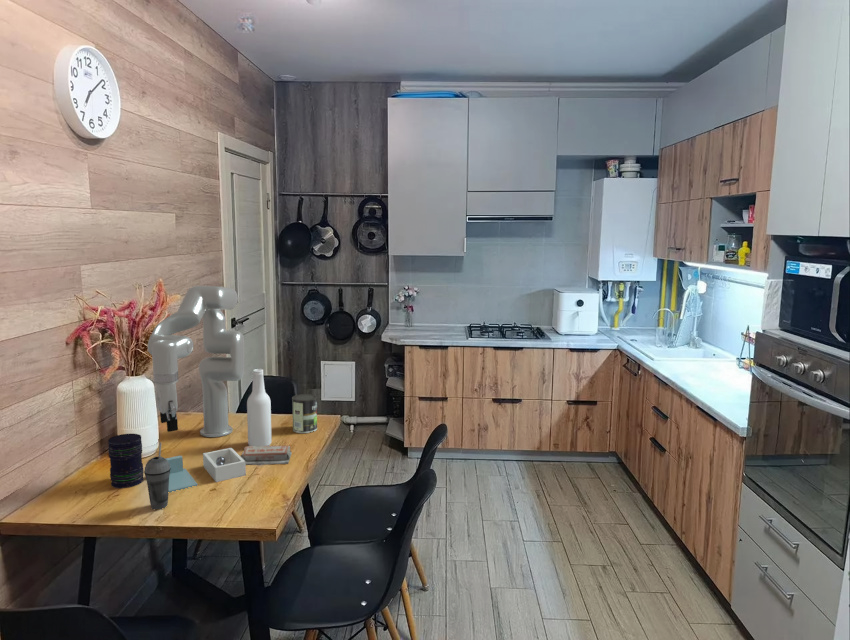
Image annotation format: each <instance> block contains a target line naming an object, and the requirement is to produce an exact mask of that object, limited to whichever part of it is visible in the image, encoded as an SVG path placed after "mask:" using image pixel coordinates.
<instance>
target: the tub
mask: <svg viewBox="0 0 850 640" xmlns="http://www.w3.org/2000/svg"><path fill="white" fill-rule="evenodd" d="M218 457H224V458H225V463H224V465H221V466H217V465H216V460H217V458H218ZM202 458H203V459H202V460H203V461H202V464H203V468H204V469H205V470H207V471H206V472H207V473H208V474H209V475H210V477H211V478H212V480H214V482H215V483H218V482H222V481H223V482H224V481H227V480H232V479H235V478H241V477H244V476H247V473H246V472H247V471H246V470H247V468H246V466H247V465H246V464H245V460H243V459H242V458H241V455H239V454H238V452H237V451H236V450H234V448H232V447H228V448H222V449H218V450H213V451H209V452H203V453H202Z"/></svg>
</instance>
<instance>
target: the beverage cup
mask: <svg viewBox="0 0 850 640" xmlns="http://www.w3.org/2000/svg"><path fill="white" fill-rule="evenodd" d="M158 445H159V447H158V456H154V457H151V458H150V459H149V460H148V461H147V462H146V464H145V467H144V473H143V475H144V476H145V479H146V485H147V491H148V497H149V503H150V509H151V508H152V509H151V510H153V509H155V510H154V511H157V510H156V509H161V510H163V509H162V508H164V509H166V508H167V507H168V506H167V505H169V504H168V503H169V493H168V492H169V476H170V470H171V468H170V464H169V462H168V461H167V460H166V457H163V456H161V452H162V442H159V444H158ZM166 506H167V507H166ZM165 507H166V508H165Z"/></svg>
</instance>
